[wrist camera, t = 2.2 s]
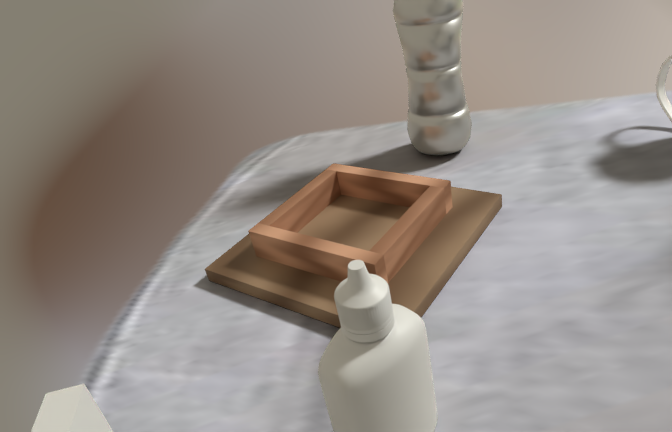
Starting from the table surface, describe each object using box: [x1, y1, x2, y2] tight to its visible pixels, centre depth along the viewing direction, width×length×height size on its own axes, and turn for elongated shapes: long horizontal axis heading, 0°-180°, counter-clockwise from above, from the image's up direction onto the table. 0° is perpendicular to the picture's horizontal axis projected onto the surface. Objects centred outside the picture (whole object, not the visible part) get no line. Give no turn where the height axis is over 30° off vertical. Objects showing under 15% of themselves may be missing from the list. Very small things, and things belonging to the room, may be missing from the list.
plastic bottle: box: [393, 0, 472, 155], centre depth 52 cm, size 6×7×20 cm
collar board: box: [205, 164, 502, 328], centre depth 44 cm, size 18×18×4 cm
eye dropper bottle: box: [318, 260, 438, 432], centre depth 25 cm, size 4×6×12 cm
